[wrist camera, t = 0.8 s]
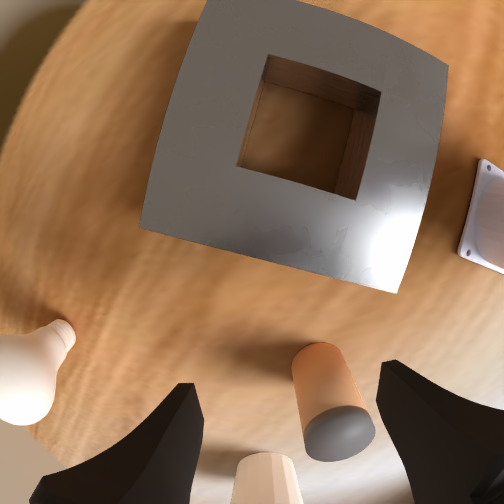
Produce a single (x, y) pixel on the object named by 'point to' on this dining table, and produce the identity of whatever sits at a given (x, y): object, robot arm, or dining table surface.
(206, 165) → the block
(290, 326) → the dining table surface
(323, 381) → the pin
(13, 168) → the dining table surface
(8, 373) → the lightbulb
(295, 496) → the shot glass
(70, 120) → the dining table surface
